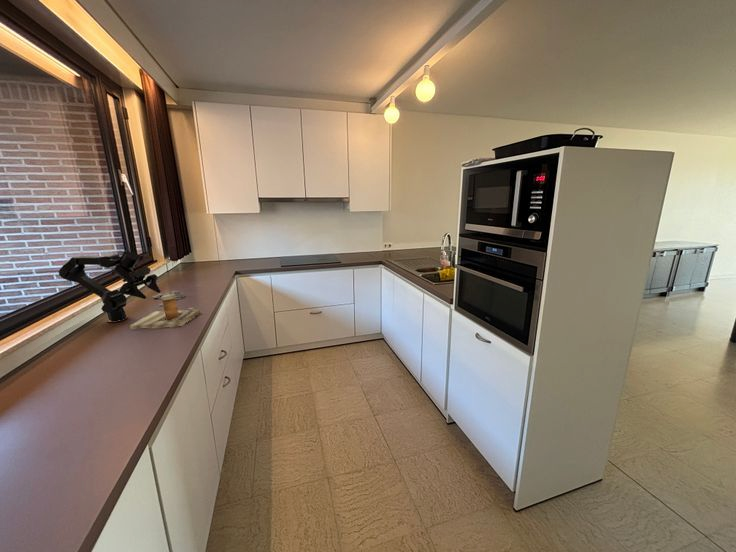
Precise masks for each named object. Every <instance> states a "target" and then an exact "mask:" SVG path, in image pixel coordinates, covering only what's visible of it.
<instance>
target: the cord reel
mask: <svg viewBox="0 0 736 552" xmlns="http://www.w3.org/2000/svg"><path fill="white" fill-rule="evenodd" d="M160 298H161V299H160V301H162V302H161V303H163V311H165V316H166V320H165V321H171V320H172V319H173V318H177V317H178V316H179V313H178V311H179V310H178V304H177V300H176V299H175V298H176V295H175V294H172V293H171V294H170V293H169V295H165V296H164V295H163V296H161V297H160Z"/></svg>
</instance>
